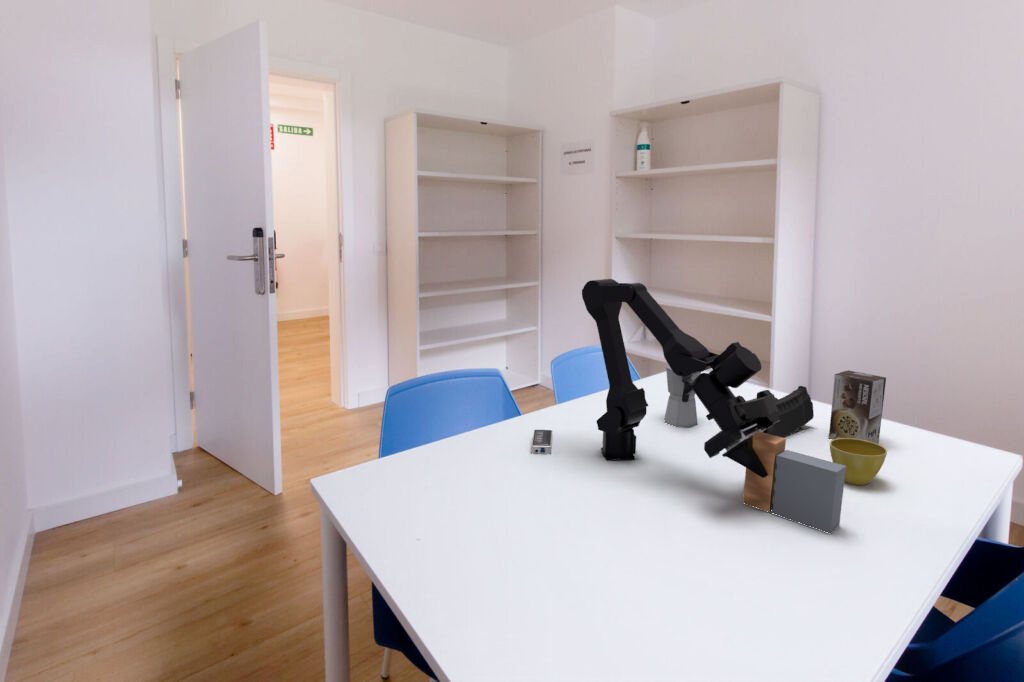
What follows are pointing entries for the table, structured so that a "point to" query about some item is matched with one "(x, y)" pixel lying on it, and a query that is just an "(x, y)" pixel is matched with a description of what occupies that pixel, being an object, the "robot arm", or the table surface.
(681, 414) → the coffee maker
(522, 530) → the table surface
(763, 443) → the wooden post
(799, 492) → the grey flat block
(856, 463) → the yellow bowl
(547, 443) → the multiport hub
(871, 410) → the coffee box
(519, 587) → the table surface
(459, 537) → the table surface
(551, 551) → the table surface
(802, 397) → the magazine
